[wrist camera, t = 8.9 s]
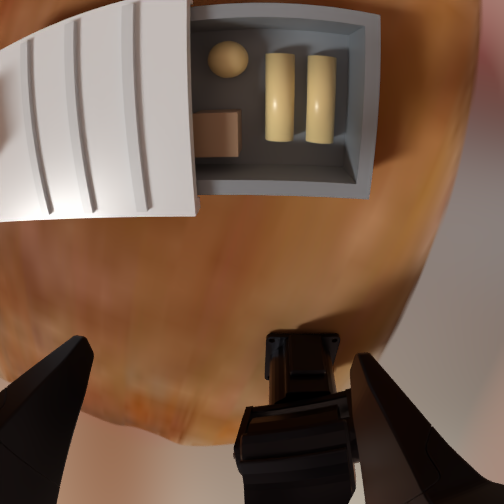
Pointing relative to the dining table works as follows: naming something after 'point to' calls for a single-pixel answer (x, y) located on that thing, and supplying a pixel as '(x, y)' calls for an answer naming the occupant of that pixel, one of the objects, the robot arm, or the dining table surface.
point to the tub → (284, 99)
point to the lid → (100, 116)
